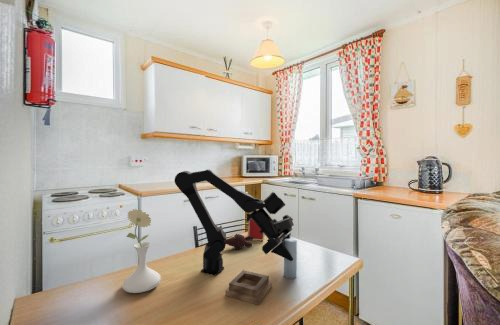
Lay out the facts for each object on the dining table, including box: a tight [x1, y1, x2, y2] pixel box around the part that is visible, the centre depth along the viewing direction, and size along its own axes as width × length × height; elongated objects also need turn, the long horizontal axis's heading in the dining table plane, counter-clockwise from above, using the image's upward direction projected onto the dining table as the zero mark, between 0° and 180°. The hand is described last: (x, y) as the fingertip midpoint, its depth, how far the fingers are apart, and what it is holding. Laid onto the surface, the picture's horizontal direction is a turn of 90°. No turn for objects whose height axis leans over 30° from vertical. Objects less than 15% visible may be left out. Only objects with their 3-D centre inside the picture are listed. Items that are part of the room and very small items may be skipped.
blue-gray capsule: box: [283, 238, 298, 279], centre depth 85 cm, size 4×4×12 cm
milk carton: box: [246, 209, 266, 241], centre depth 124 cm, size 9×9×20 cm
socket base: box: [224, 269, 273, 306], centre depth 75 cm, size 11×11×4 cm
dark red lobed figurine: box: [226, 233, 254, 251], centre depth 109 cm, size 7×7×15 cm
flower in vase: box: [121, 208, 162, 294], centre depth 77 cm, size 13×11×25 cm
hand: (294, 257), depth 84 cm, fingers closed on blue-gray capsule, 4 cm apart
